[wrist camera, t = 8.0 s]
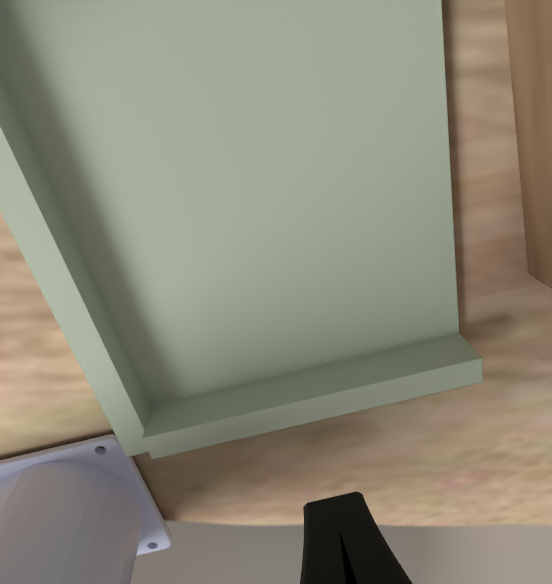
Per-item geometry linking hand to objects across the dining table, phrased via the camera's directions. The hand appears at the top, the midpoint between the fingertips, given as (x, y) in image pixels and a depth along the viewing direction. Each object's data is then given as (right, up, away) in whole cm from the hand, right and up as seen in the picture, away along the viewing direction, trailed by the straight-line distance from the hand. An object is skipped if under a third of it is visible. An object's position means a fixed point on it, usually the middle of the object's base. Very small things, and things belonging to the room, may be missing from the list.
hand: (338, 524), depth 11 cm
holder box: (-2, +9, +6) cm, 11 cm away
